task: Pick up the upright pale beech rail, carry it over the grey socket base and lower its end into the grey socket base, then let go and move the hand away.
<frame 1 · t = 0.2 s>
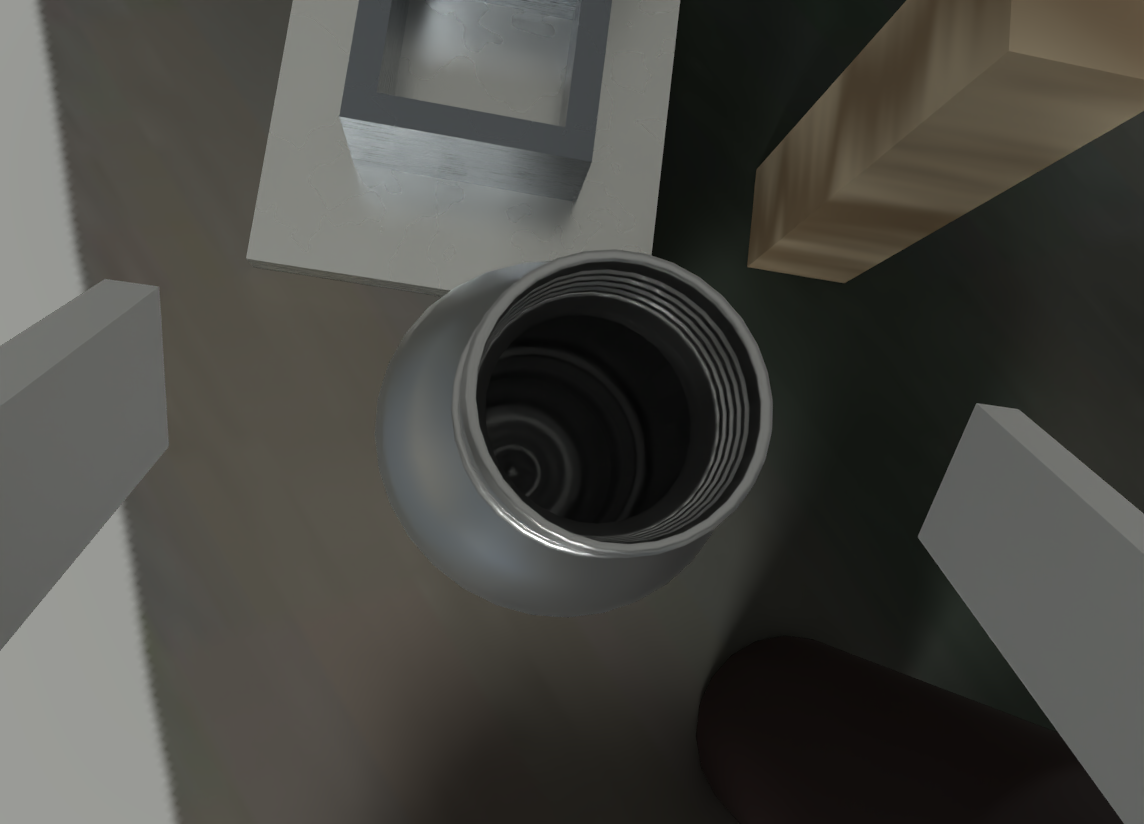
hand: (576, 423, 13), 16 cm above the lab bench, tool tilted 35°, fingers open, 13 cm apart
beech rail: (800, 226, 32), on the lab bench
grey socket base: (481, 93, 30), on the lab bench
vinegar: (780, 727, 29), on the lab bench
plastic bottle: (511, 471, 29), on the lab bench
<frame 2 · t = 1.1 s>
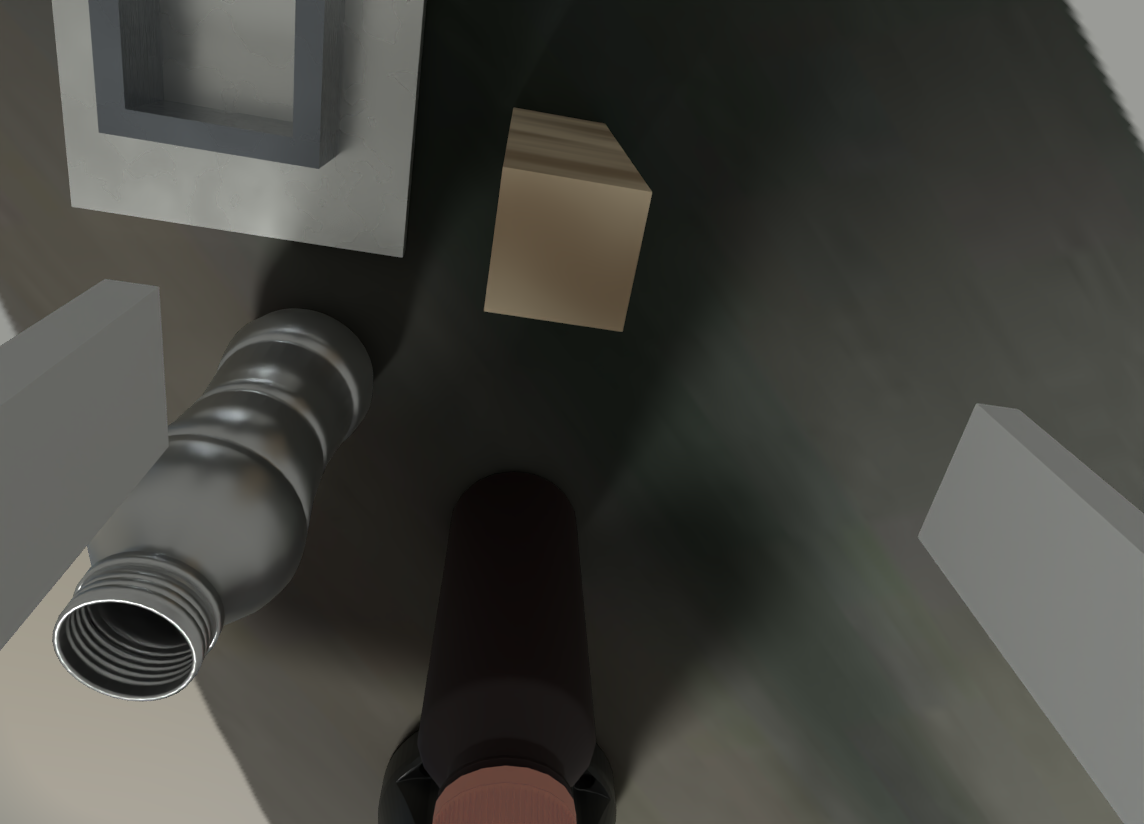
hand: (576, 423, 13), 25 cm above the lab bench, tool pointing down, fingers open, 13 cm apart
beech rail: (552, 162, 35), on the lab bench
grey socket base: (247, 33, 33), on the lab bench
vinegar: (514, 519, 44), on the lab bench
plastic bottle: (313, 357, 39), on the lab bench
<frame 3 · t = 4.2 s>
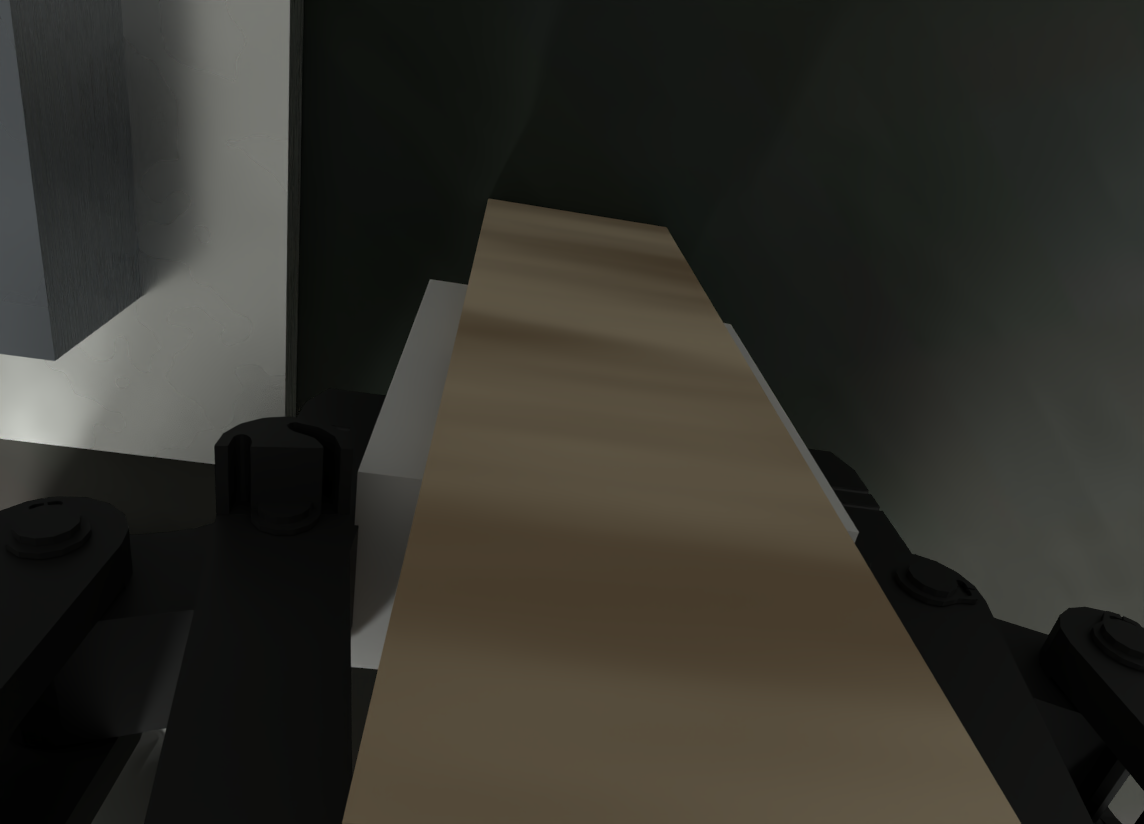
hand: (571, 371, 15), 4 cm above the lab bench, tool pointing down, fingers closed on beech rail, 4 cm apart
beech rail: (563, 298, 19), on the lab bench, touching gripper
plastic bottle: (147, 614, 23), on the lab bench
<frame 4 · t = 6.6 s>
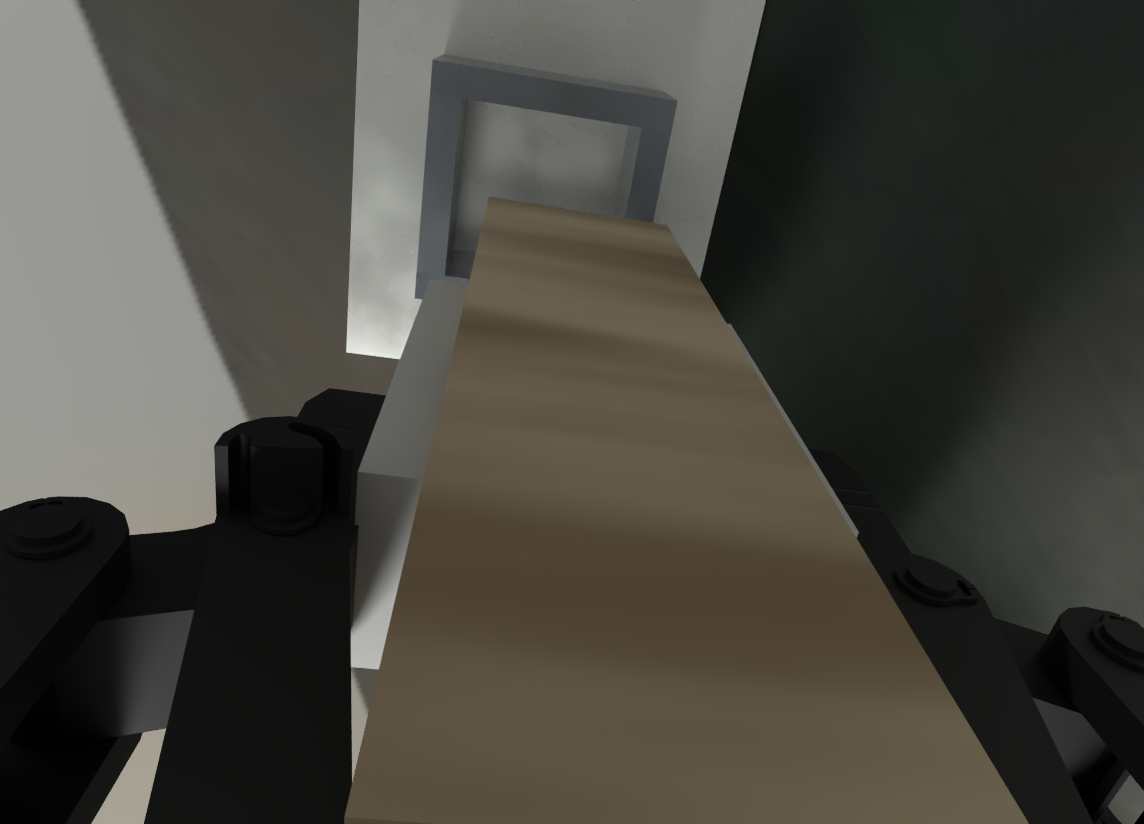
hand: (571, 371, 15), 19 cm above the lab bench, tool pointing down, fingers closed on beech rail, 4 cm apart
beech rail: (564, 296, 19), point 15 cm above the lab bench, touching gripper
grey socket base: (539, 179, 32), on the lab bench
when the fingers open (7 cm above the lab bench, at t = 9.3 s): beech rail drops 1 cm, resting on grey socket base.
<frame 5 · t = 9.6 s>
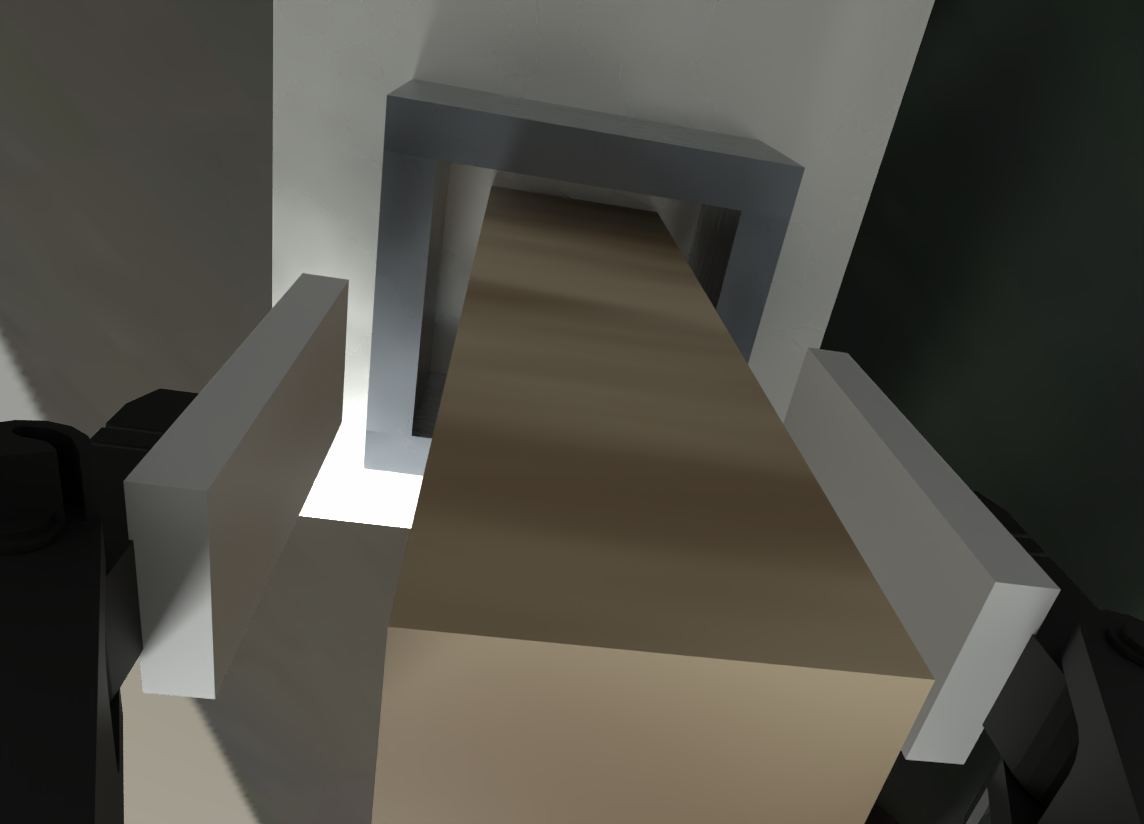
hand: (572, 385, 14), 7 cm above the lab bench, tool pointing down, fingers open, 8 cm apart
beech rail: (561, 279, 20), point 1 cm above the lab bench, touching grey socket base
grey socket base: (560, 267, 21), on the lab bench
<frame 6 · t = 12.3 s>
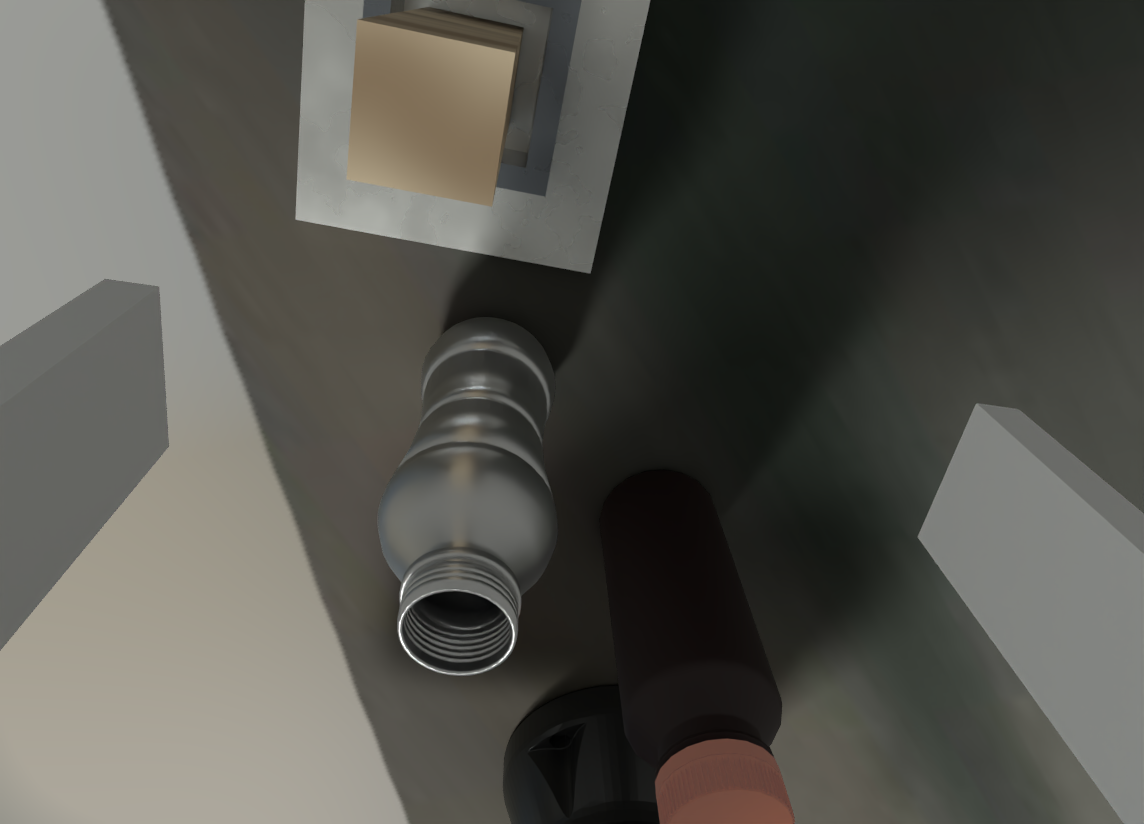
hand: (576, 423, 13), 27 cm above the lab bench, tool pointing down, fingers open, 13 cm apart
beech rail: (470, 68, 34), point 1 cm above the lab bench, touching grey socket base
grey socket base: (471, 65, 35), on the lab bench
vinegar: (655, 513, 47), on the lab bench
plastic bottle: (491, 360, 42), on the lab bench
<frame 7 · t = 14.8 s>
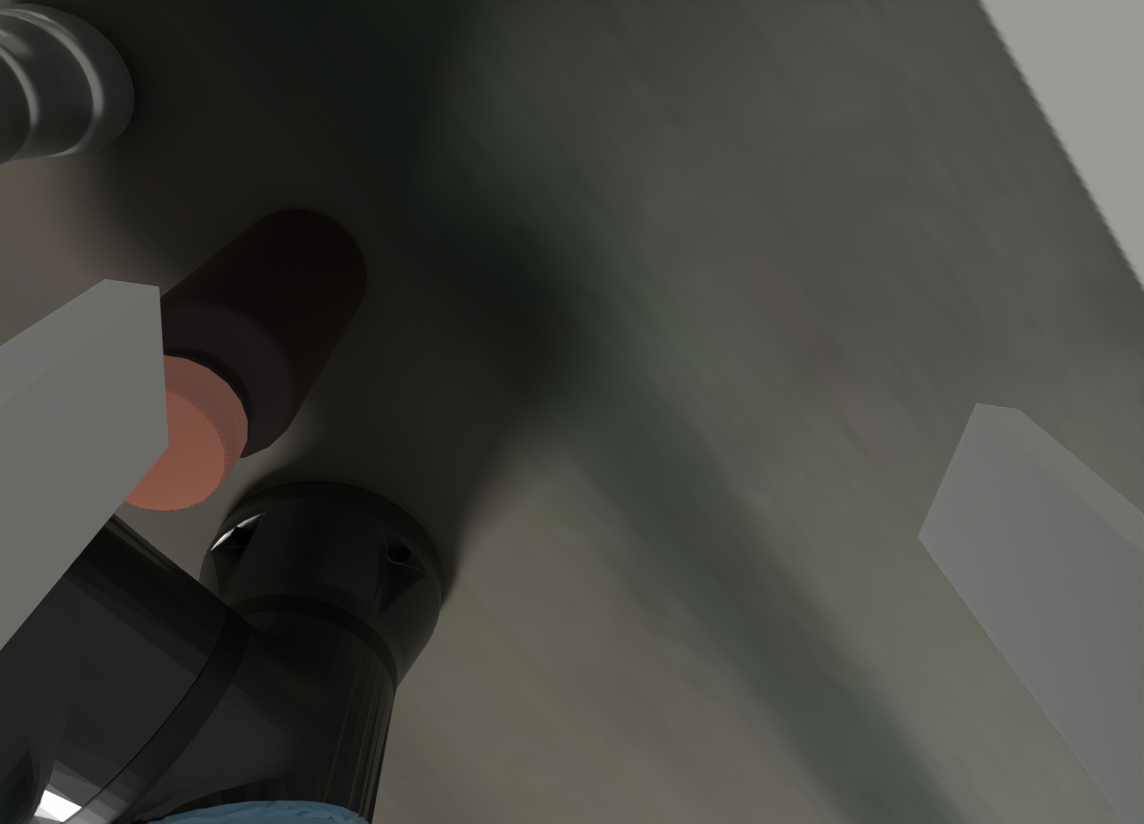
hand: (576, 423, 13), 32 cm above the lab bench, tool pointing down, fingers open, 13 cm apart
vinegar: (306, 268, 44), on the lab bench
plastic bottle: (80, 77, 39), on the lab bench
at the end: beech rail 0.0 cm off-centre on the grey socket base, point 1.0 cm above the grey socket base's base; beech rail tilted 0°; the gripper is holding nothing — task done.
